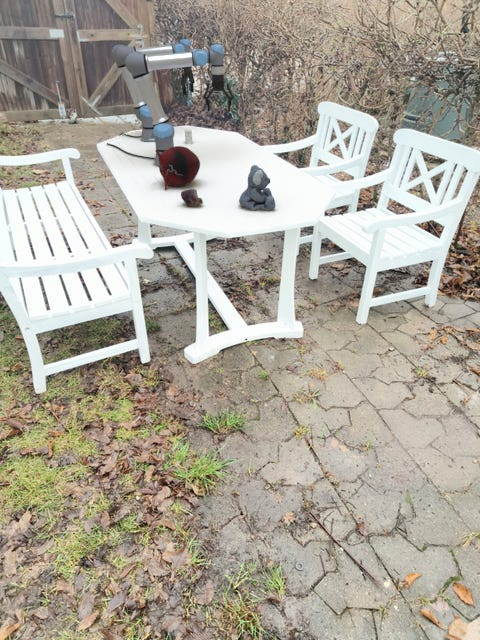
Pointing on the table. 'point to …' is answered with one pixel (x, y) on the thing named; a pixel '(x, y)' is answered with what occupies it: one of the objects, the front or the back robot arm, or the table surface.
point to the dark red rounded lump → (178, 166)
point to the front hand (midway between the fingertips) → (219, 111)
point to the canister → (188, 136)
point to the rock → (191, 197)
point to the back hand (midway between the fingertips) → (188, 93)
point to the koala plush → (257, 191)
